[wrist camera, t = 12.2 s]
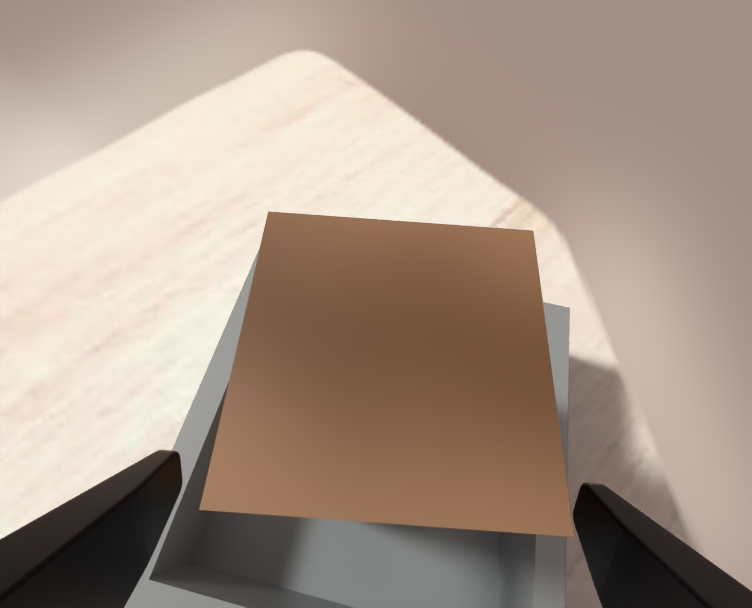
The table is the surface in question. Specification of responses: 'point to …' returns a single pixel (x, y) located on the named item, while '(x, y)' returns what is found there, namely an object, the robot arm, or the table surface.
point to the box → (339, 534)
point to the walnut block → (393, 380)
